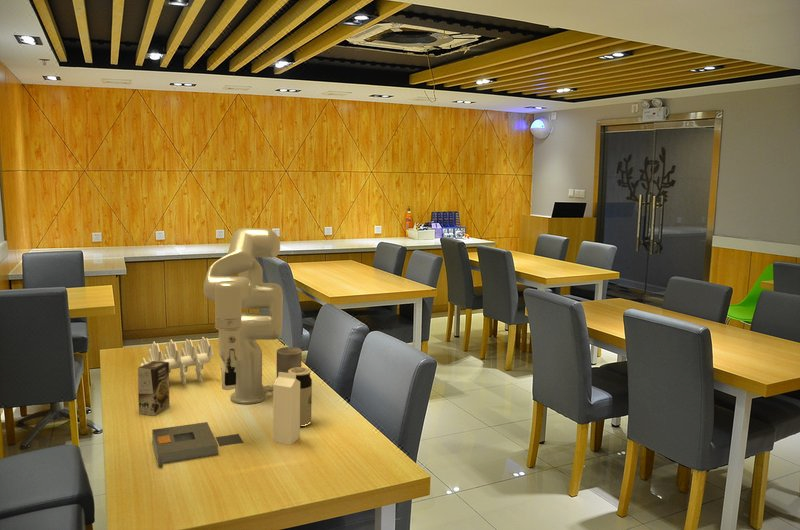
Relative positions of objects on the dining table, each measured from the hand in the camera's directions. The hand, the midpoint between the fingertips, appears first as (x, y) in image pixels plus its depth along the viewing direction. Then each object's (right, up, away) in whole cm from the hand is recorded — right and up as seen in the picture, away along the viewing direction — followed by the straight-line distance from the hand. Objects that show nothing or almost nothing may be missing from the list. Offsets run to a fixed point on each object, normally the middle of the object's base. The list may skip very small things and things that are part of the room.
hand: (228, 381), depth 187 cm
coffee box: (-33, -15, +27) cm, 45 cm away
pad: (-1, -19, +3) cm, 19 cm away
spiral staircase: (-35, -11, +53) cm, 64 cm away
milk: (+16, -20, +4) cm, 26 cm away
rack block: (-12, -19, -3) cm, 23 cm away
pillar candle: (+8, -12, +58) cm, 59 cm away
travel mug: (+18, -17, +19) cm, 32 cm away
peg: (0, -2, 0) cm, 2 cm away
